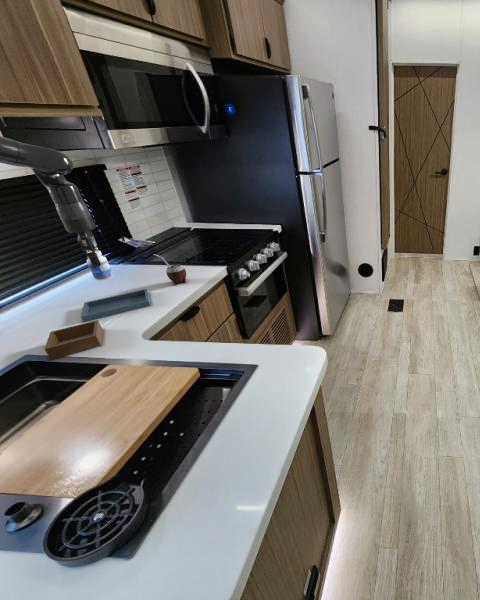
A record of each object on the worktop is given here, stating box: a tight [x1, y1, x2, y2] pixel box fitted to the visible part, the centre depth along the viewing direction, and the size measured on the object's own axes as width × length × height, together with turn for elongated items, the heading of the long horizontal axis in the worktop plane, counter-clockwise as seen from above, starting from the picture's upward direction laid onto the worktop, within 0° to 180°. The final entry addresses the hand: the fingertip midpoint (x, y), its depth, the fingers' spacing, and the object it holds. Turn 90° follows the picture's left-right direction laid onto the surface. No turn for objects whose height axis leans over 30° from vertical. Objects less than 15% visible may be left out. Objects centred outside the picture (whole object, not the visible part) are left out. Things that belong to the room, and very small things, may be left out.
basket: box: [44, 319, 104, 361], centre depth 103 cm, size 12×12×4 cm
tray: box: [80, 288, 151, 323], centre depth 125 cm, size 20×14×3 cm
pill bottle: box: [86, 249, 114, 281], centre depth 117 cm, size 6×5×10 cm
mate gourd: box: [152, 253, 187, 286], centre depth 141 cm, size 8×8×15 cm
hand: (97, 263), depth 117 cm, fingers closed on pill bottle, 5 cm apart
